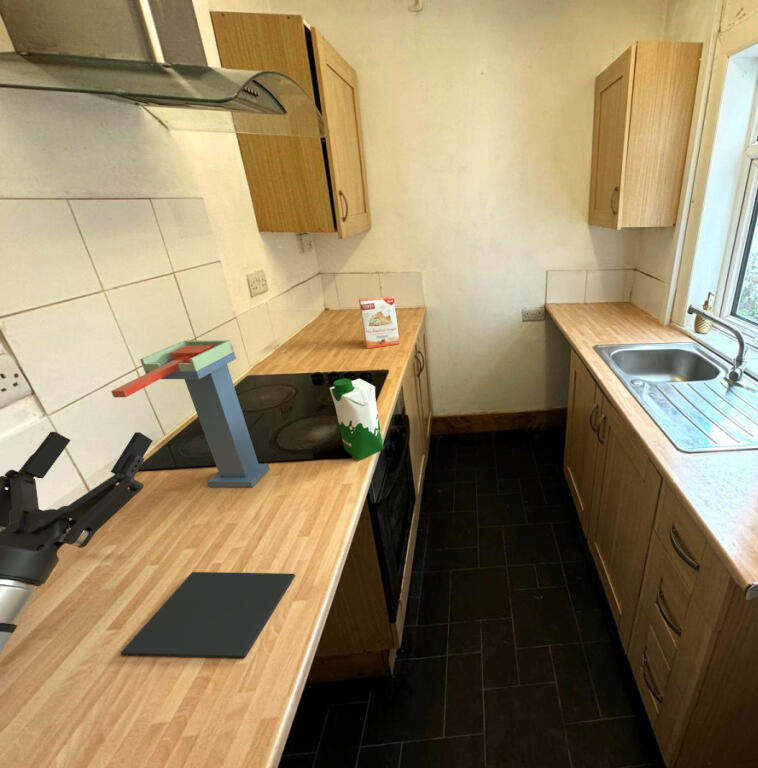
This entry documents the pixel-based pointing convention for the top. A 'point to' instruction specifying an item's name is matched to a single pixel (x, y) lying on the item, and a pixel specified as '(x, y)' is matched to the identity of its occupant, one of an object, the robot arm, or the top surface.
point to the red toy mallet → (161, 370)
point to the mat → (212, 616)
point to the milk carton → (357, 417)
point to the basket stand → (216, 411)
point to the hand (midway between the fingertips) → (102, 435)
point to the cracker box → (379, 321)
